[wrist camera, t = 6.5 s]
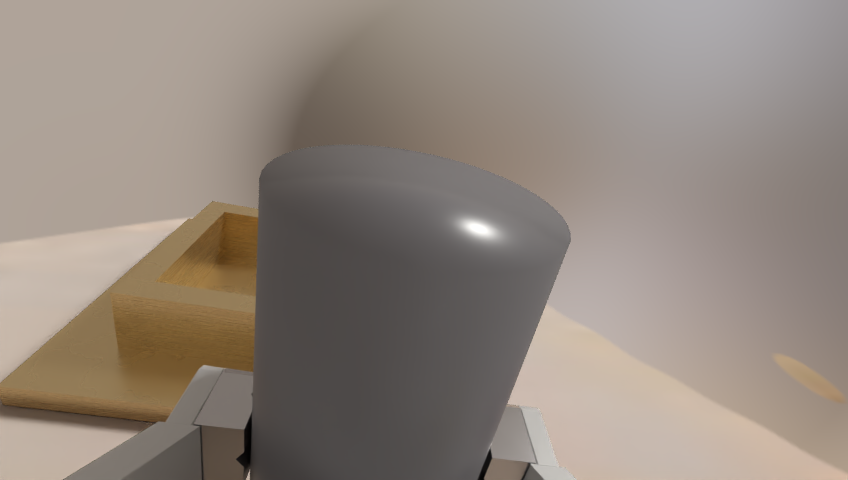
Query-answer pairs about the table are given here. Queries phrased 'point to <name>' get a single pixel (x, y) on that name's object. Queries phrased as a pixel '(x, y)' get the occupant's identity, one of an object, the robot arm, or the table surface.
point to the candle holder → (154, 326)
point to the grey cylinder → (391, 312)
